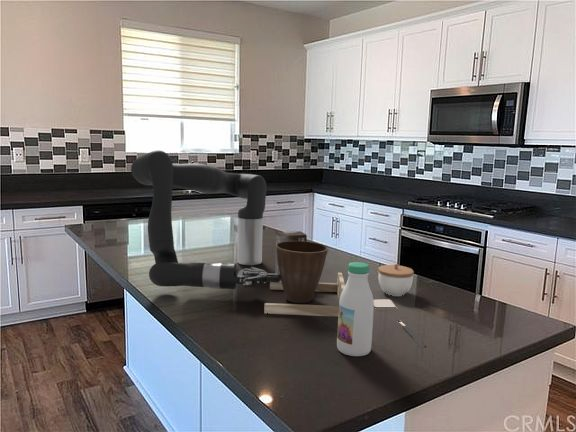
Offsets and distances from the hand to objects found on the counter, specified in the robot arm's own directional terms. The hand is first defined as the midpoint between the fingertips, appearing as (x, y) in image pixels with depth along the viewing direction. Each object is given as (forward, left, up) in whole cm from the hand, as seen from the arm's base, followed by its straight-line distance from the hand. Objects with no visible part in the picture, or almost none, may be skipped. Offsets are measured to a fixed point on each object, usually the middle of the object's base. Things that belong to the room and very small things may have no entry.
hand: (279, 278), depth 133 cm
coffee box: (-20, +3, -7) cm, 22 cm away
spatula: (+12, +32, -8) cm, 36 cm away
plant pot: (-2, +6, -7) cm, 9 cm away
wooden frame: (0, +8, -7) cm, 10 cm away
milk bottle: (+30, +19, -7) cm, 36 cm away
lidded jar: (-11, +36, -7) cm, 38 cm away
